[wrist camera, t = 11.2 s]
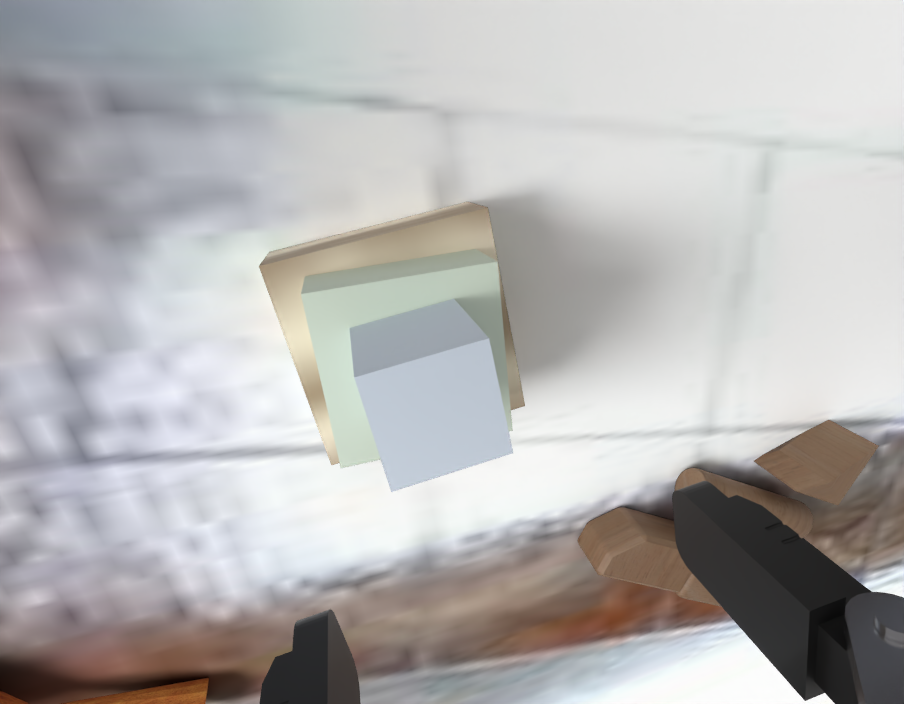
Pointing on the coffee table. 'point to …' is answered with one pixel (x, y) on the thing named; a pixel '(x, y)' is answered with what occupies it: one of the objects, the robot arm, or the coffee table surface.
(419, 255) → the tower base
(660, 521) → the wooden block set
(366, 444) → the tower top
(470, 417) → the blue block
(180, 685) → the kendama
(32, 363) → the coffee table surface
